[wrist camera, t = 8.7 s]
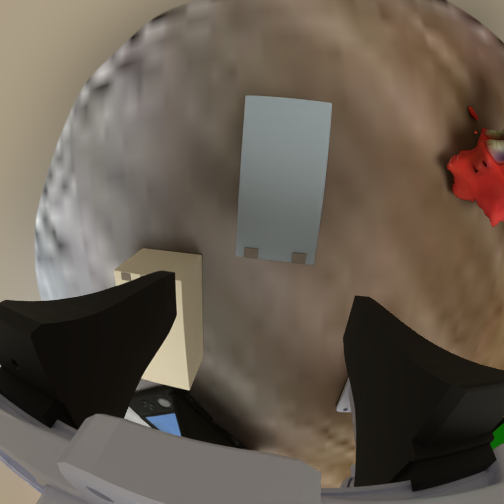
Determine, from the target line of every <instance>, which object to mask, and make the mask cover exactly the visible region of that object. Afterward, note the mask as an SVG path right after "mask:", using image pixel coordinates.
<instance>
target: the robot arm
mask: <svg viewBox="0 0 504 504" xmlns="http://www.w3.org/2000/svg"><path fill="white" fill-rule="evenodd" d="M176 316H177V305H176V282H175V272H169V271H163V270H161V271H157V272H153V273H150V274H147V275H145V276H142V277H139V278H137V279H134V280H132V281H129V282H126V283H124V284H121V285H118V286H115V287H112V288H109V289H106V290H103V291H100V292H96V293H92V294H88V295H84V296H79V297H73V298H66V299H60V300H50V301H12V300H5V301H2V302H0V365H1V367H0V460H1V461H2V462H3V463H4V464H5V465H7V466H8V467H9V468H10V469H11V470H12V471H13V472H15V473H16V474H17V475H18V476H19V477H21V478H22V479H23V480H24V481H26V482H27V483H28V484H29V485H31V486H32V487H33V488H35V489H36V490H37V491H39V492H40V493H41V494H42V495H41V497H40V498H39V500H38V502H37V503H36V504H504V443H503V444H501V445H499V446H497V447H496V448H494V449H492V447H491V444H490V443H491V442H493V440H494V438H495V437H494V435H493V432H492V430H493V429H494V428H495V426H496V425H497V424H498V423H499V422H500V420H501V419H502V418H503V417H504V370H500V369H496V368H492V367H488V366H484V365H480V364H478V363H475V362H472V361H469V360H466V359H464V358H461V357H459V356H457V355H455V354H453V353H450V352H448V351H446V350H444V349H442V348H440V347H439V346H437V345H435V344H433V343H432V342H430V341H428V340H427V339H425V338H423V337H422V336H420V335H419V334H417V333H416V332H415V331H413V330H412V329H411V328H409V327H408V326H406V325H405V324H404V323H403V322H401V321H400V320H399V319H397V318H396V317H395V316H394V315H393V314H391V313H390V312H389V311H388V310H386V309H385V308H384V307H383V306H381V305H380V304H379V303H378V302H376V301H375V300H374V299H372V298H370V297H365V296H355V298H354V302H353V305H352V309H351V313H350V316H349V320H348V323H347V326H346V330H345V333H344V336H343V343H344V356H345V362H346V367H347V372H348V376H349V377H348V379H347V382H346V385H345V387H344V390H343V392H342V394H341V397H340V399H339V402H338V404H337V406H336V410H337V411H338V412H351V415H352V422H353V429H354V437H355V444H356V464H354V465H351V477H348V478H346V479H345V480H344V481H343V482H342V484H341V486H340V488H321V472H320V471H318V470H316V469H315V468H313V467H311V466H310V465H308V464H306V463H304V462H303V461H301V460H299V459H297V458H292V457H287V456H282V455H277V454H273V453H268V452H260V451H253V450H245V449H239V448H233V447H227V446H222V445H217V444H212V443H207V442H202V441H198V440H194V439H189V438H185V437H181V436H178V435H174V434H170V433H167V432H163V431H160V430H157V429H153V428H150V427H147V426H144V425H141V424H138V423H135V422H132V421H129V420H127V419H124V417H125V414H126V412H127V409H128V407H129V404H130V402H131V399H132V397H133V395H134V392H135V390H136V388H137V386H138V384H139V381H140V379H141V377H142V376H143V374H144V372H145V370H146V369H147V367H148V366H149V364H150V362H151V361H152V359H153V358H154V356H155V355H156V353H157V352H158V350H159V348H160V347H161V345H162V344H163V342H164V341H165V339H166V337H167V336H168V334H169V332H170V330H171V328H172V326H173V324H174V321H175V319H176Z"/></svg>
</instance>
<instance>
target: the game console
mask: <svg viewBox="0 0 504 504" xmlns="http://www.w3.org/2000/svg"><path fill="white" fill-rule="evenodd" d="M129 407H130V408H131V409H132V410H133V411H134V412H136V413H137V414H138V415H139V416H140V418H141V419H143V420H144V421H145V422H146V423H147V424H148V425H149V426H150V427H151V428H153V429H157V430H160V431H163V432H167V433H170V434H174V435H178V436H181V437H185V438H189V439H194V440H198V441H202V442H207V443H212V444H217V445H222V446H227V447H233V448H239V449H245V450H249V449H248V448H247V447H245V446H243V445H242V444H241V443H240V442H239V441H238V440H237V439H235V438H234V437H233V436H232V435H231V434H230V433H229V432H228V431H225V430H224V429H221V428H220V427H219V426H218V425H216V424H215V423H214V422H213V420H212V418H211V417H210V416H209V413H208V412H207V411H206V410H205V409H204V408H203V407H202V406H201V405H200V404H199V403H198V402H197V401H196V400H195V399H194V398H193V397H192V396H191V395H190V394H189V392H188V391H187V390H185V389H181V388H177V387H172V386H164V387H160V388H155V389H151V390H146V391H142V392H137V393H134V395H133V397H132V399H131V402H130V404H129Z"/></svg>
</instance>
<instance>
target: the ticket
mask: <svg viewBox="0 0 504 504" xmlns="http://www.w3.org/2000/svg"><path fill="white" fill-rule="evenodd" d="M161 270H163V271H169V272H175V282H176V305H177V316H176V319H175V321H174V324H173V326H172V328H171V330H170V332H169V334H168V336H167V337H166V339H165V341H164V342H163V344H162V345H161V347H160V348H159V350H158V352H157V353H156V355H155V356H154V358H153V359H152V361H151V362H150V364H149V366H148V367H147V369H146V370H145V372H144V374H143V376H142V377H141V378H142V379H145V380H149V381H153V382H156V383H160V384H164V385H168V386H172V387H177V388H181V389H185V390H190V389H191V386H192V384H193V381H194V379H195V376H196V374H197V371H198V369H199V367H200V364H201V362H202V359H203V357H204V351H203V320H202V255H198V254H189V253H180V252H172V251H163V250H155V249H146V248H143V249H141V250H140V251H139V252H137V253H136V254H135V255H133V256H132V257H131V258H129V259H128V260H127V261H125V262H124V263H123V264H121V265H120V266H119V267H117V268H116V269H115V270H114V275H115V283H116V286H118V285H121V284H124V283H126V282H129V281H132V280H134V279H137V278H139V277H142V276H145V275H147V274H150V273H153V272H157V271H161Z"/></svg>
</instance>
